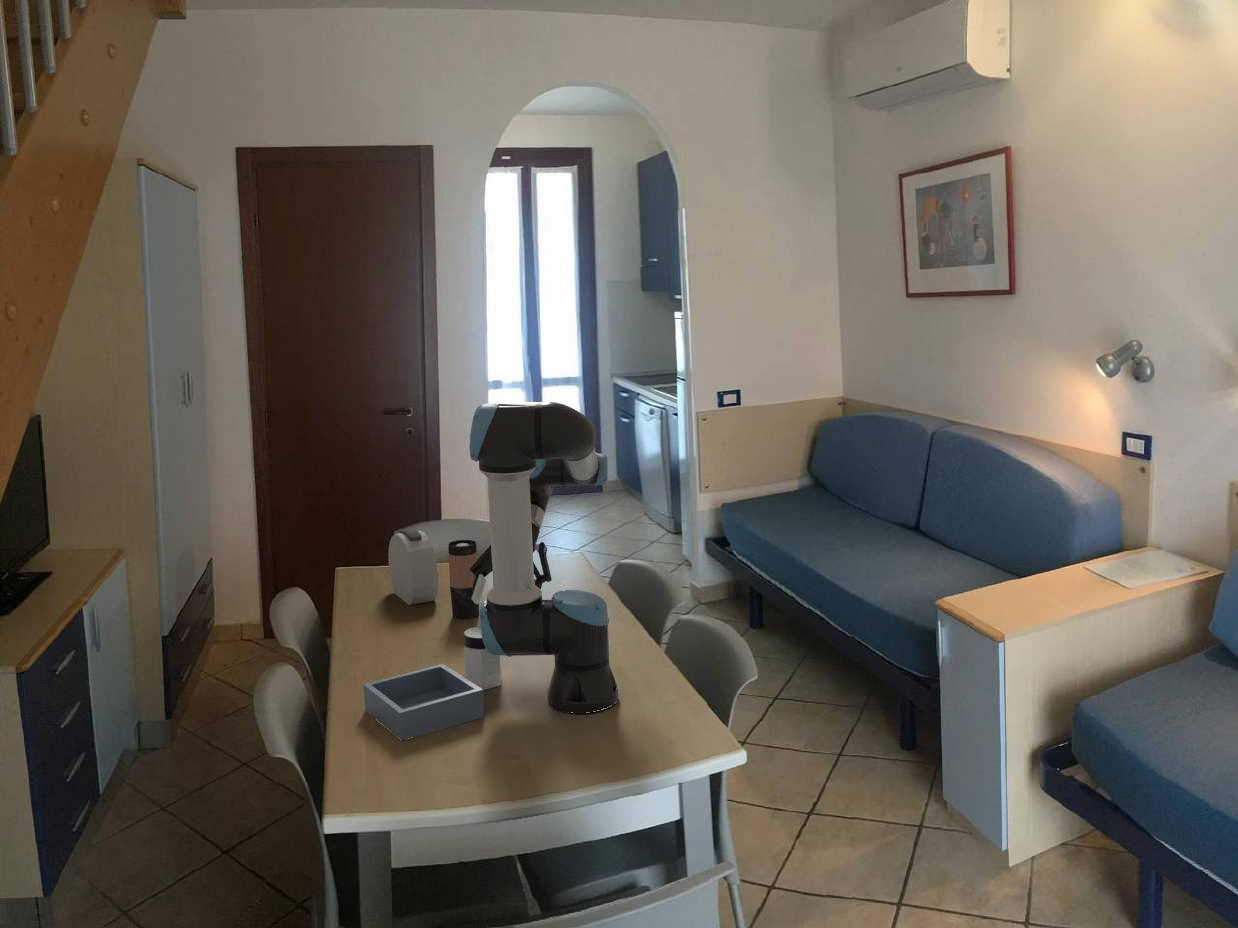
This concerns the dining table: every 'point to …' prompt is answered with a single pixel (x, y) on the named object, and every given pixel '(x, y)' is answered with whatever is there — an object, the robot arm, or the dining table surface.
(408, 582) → the alarm clock
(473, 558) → the travel mug
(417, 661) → the dining table surface
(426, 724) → the bin
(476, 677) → the jar
